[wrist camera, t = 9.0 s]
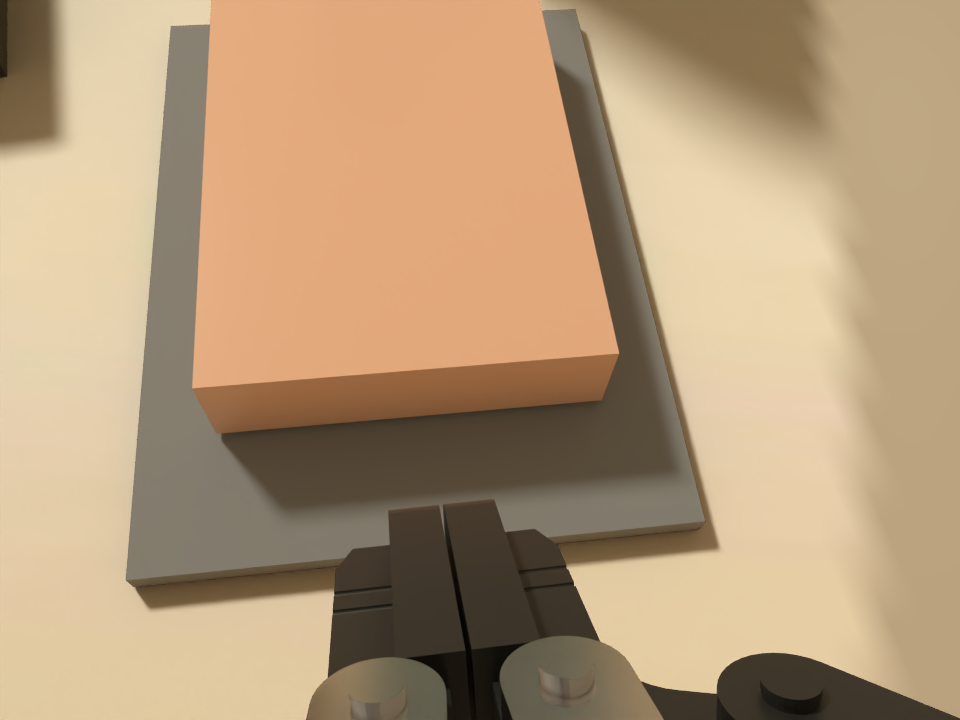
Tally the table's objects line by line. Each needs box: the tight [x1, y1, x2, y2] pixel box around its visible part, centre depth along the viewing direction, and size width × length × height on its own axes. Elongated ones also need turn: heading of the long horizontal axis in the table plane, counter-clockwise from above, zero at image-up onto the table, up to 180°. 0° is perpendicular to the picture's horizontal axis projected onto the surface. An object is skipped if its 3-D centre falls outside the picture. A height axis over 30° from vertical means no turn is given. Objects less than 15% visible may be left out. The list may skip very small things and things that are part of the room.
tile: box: [192, 0, 619, 434], centre depth 25 cm, size 10×3×14 cm
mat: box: [126, 9, 705, 587], centre depth 26 cm, size 14×19×1 cm
